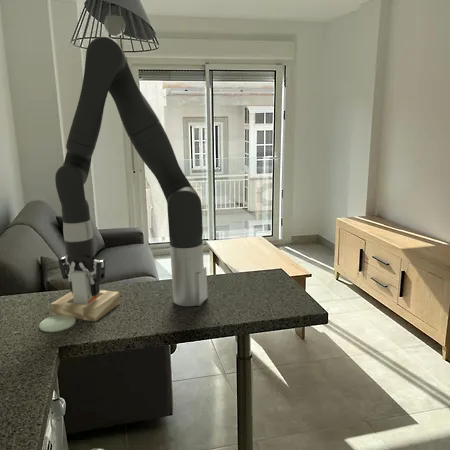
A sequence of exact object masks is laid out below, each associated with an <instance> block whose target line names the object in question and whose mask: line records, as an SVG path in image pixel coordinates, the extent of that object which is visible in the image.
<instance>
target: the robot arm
mask: <svg viewBox="0 0 450 450" xmlns="http://www.w3.org/2000/svg"><path fill="white" fill-rule="evenodd" d="M126 57H127V56H126V54H125V52H124V50H123V49H122V47H121V45H120V44H119V43H118V42H117V41H116V40H114V39H113V38H111V37H109V36H98V37H96V38H94V39H92V41H90V42H89V44H88V45H87V47H86V51H85V61H84V70H83V79H82V85H81V89H80V94H79V99H78V102H77V106H76V110H75V113H74V115H73V118H72V123H71V125H70V129H69V133H68V136H67V140H66V145H65V147H66V148H65V149H66V153H65V158H64V161H63V165H61V166H60V167H58V169H57V170H56V172H55V175H54V176H55V177H54V179H55V188H56V191H57V196H58V200H59V202H60V205H61V214H62V215H61V216H62V222H63V223H62V224H63V225H62V227H63V228H62V232H63V241H64V248H65V254H66V255H67V256H63V257H61V258H59V259H58V260H57V261H58V265H59V269H60V273H61V278H62V279H63V280H67V281H68V282H69V288H70V292H72V294H73V290H72V281H71V273H72V272H73V271H75V270H76V271H83V272H86V277H88V278H89V280H90V282H91V292H92V296H96V295H98V293H99V292H100V290H101V289H100V283H101V282H102V281H104V280H105V279H106V260H105V259H101V260H100V259H96V257H95V241H94V234H93V233H94V232H93V231H94V230H93V225H92V222H91V214H90V212H91V211H90V206H89V202H88V200H87V199H86V194H85V193H86V192H85V184H86V182H87V180H88V178H89V177H88V176H89V173H90V168H91V164H92V158H93V155H94V151H95V149H96V146H97V142H98V138H99V136H100V133H101V132H100V131H101V127H102V126H101V125H102V122H103V116H104V110H105V109H104V108H105V105H106V101H107V97H108V93H109V94H110V96H111V98H112V100H113V101H114V104H115V106H116V109H117V112H118V115H119V117H120V120H121V122H122V125H123V128H124V130H125V133H126V134H127V136H128V138H129V140H130V142H131V143H132V145H133V147H134V150H135V151H136V152H137V154H138V155H139V157H140V158H141V160H142V161H143V163H144V164H145V166H146V167H147V168H148V169H149V170H150V172H151V173H152V174H153V176H154V177H155V179H156V180H157V182H158V184H159V186H160V188H161V191H162V193H163V196H164V198H165V201H166V206H167V220H168V224H167V225H168V237H169V250H170V263H171V264H170V265H171V267H170V268H171V278H172V280H171V281H172V296H173V298H172V299H173V303H174V304H175V305H177V306H180V307H195V306H198V307H199V306H201V305H202V304H204V302H205V301H206V300H207V299H208V298H209V297H208V279H207V278H208V276H207V267H205V266H204V265H205V264H204V247H203V245H204V244H203V236H204V231H203V230H204V227H203V207H202V201H201V198H200V196H199V193H197V191H196V190H195V189H194V187H193V186H192V185H191V183H190V181H189V180H188V178H187V177H186V175H185V173H184V172H183V170H182V168H181V167H180V164H179V163H178V159H177V157H176V154H175V151H174V148H173V146H172V144H171V142H170V139H169V137H168V135H167V133H166V131H165V129H164V127H163V125H162V123H161V121H160V119H159V118H158V116H157V114H156V113H155V111H154V109H153V108H152V106H151V104H150V103H149V101H148V100H147V99H146V97H145V95H144V94H143V93H142V92H141V90H140V87H139V86H138V84H137V82H136V80H135V78H134V75H133V72H132V71H131V69H130V68H131V67H130V66H129V63H128V59H127V58H126ZM89 271H91V273H90V272H89ZM92 275H93V276H92ZM93 277H94V278H93Z"/></svg>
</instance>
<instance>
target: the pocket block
mask: <svg viewBox="0 0 450 450" xmlns="http://www.w3.org/2000/svg"><path fill="white" fill-rule="evenodd" d="M99 290H100V292H99V293H98V295H97V298H96V299H95V300H93V301H92V302H90V303H89V304H87V305H82V304H74V298H73V294H72V292H71V291H70V292H68V293H66V294H65V295H63V296H62V297H60V298H57V300H54V301H53V302H51V303H50V306H51V307H50V308H51V312H52V316H55V315H68V316H74V317H75V319H77V320H85V321H90V322H97V321H98V320H99V319H101V318H102V317H104V316H105V315H106V314H107V313H109V312H110V311H111V310H113V309H115V307H118V305H119V304H120V303H121V301H120V300H121V299H120V291H114V290H113V291H112V290H104V289H99Z"/></svg>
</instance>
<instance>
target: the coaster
mask: <svg viewBox="0 0 450 450" xmlns="http://www.w3.org/2000/svg"><path fill="white" fill-rule="evenodd" d="M75 324H76V319H75V317H74V316H68V315H55V316H54V315H52V316H49V317H46V318H44V319H43V320H42V321H41V322H39V325H38V326H39V330H40V331H42V332H45V333H55V332H56V333H57V332H60V331H61V332H62V331H64V330H68V329H69V328H72V327H73V326H74V325H75Z"/></svg>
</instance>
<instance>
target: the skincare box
mask: <svg viewBox="0 0 450 450" xmlns="http://www.w3.org/2000/svg"><path fill="white" fill-rule="evenodd" d="M89 272H90V273H91V271H89ZM92 276H93V275H92ZM93 278H94V277H93ZM71 281H72V290H73V298H74V304H82V305H87V304H89V303H90V302H92V301H93V300H95V299H96V298H97V295H96V296H92V292H91V282H90V280H89V278H88V277H86V272H83V271H76V270H75V271H73V272H72V273H71Z"/></svg>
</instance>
